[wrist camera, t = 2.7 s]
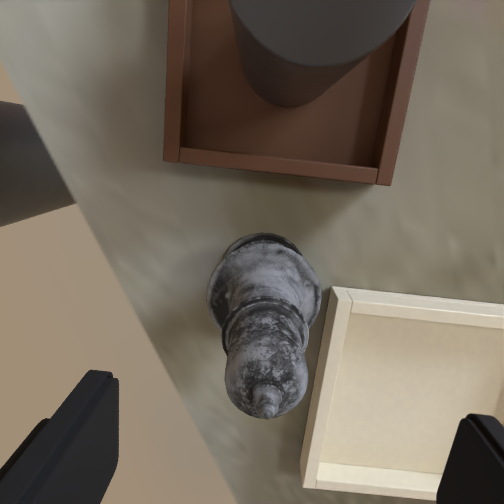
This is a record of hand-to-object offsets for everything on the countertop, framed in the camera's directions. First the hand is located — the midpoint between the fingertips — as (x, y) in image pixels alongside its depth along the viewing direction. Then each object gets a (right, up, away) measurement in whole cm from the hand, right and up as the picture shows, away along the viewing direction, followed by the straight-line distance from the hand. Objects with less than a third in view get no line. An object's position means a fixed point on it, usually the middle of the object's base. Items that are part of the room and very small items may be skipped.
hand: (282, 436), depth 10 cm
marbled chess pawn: (0, +4, +12) cm, 13 cm away
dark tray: (+1, +15, +9) cm, 17 cm away
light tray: (+10, -4, +14) cm, 18 cm away
